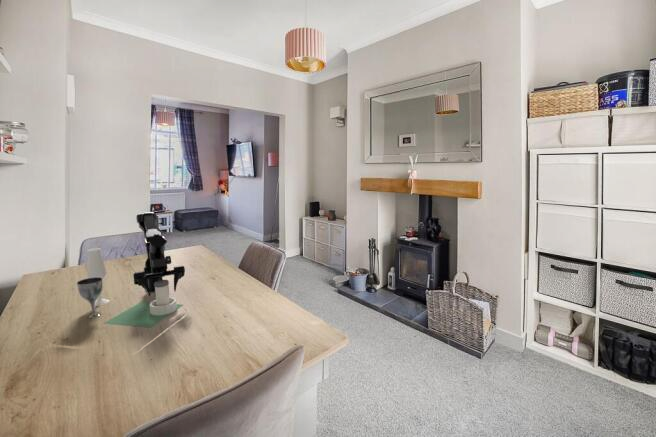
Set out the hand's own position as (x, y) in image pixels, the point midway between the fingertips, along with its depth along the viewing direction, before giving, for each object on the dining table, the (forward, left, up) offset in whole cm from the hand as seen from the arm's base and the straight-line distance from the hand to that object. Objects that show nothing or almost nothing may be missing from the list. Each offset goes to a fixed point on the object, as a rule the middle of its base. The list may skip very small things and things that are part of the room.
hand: (162, 293), depth 130 cm
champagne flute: (-34, +4, -9) cm, 35 cm away
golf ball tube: (-1, +1, -8) cm, 8 cm away
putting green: (-6, -3, -8) cm, 11 cm away
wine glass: (-25, -8, -9) cm, 28 cm away
